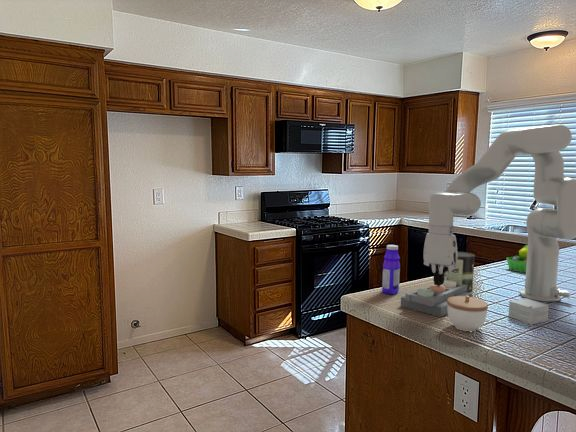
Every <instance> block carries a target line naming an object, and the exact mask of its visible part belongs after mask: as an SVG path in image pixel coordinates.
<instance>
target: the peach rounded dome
mask: <svg viewBox="0 0 576 432" xmlns="http://www.w3.org/2000/svg"><path fill="white" fill-rule="evenodd" d="M429 285H430V289H431V290H433V291H434V292H439V293H443V292H445V286H444V285H440V286H438V285H434V284H433V283H430V284H429Z"/></svg>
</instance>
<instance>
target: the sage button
mask: <svg viewBox="0 0 576 432" xmlns="http://www.w3.org/2000/svg"><path fill="white" fill-rule="evenodd" d="M420 288H421V289H420ZM420 288H417V289H418V290H417V289H416V290H417V295H420V296H424V297H429V298H431V297H433V296H434V291H433V290H431V289H425V288H423V287H420Z"/></svg>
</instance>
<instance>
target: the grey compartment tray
mask: <svg viewBox="0 0 576 432" xmlns="http://www.w3.org/2000/svg"><path fill="white" fill-rule="evenodd" d="M432 284H434V282H433V283H432ZM430 285H431V284H428V285H425V286H423V287H420V288H417V289H415V290H412V291H410V292H407V293H405V295H404V296H403V295H402V296H401V297H400V307H403V308H406V309H410V310H413V311H418V312H421V313H424V312H425V314H429V315H431V314H433V316H435V315H436V316H435V317H439V316H440V317H439V318H442V317H443V316H446V315H448V313H447V299H448V298H449V297H453V296H469V297H473V293H468V292H465V291H467V285H463V284H458V283H456V287H455V288H448V287H445V292H443V293H439V292H434V296H433V297H431V298H429V297H424V296H420V295H417V290H418V289H421V288H425V289H430ZM441 316H442V317H441Z"/></svg>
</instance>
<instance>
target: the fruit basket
mask: <svg viewBox="0 0 576 432" xmlns="http://www.w3.org/2000/svg"><path fill="white" fill-rule="evenodd" d="M527 252H528V244H525V245H524V246H523V247H522V248H521V249H519V250H518V255H515V256H511V257H510V256H508V257H506V259H505V260H506V261H507V265H508V269H509V270H512V269H513V270H514V271H516V270H518V271H517V272H520V271H522V272H521V273H525V272H526V265H527Z"/></svg>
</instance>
